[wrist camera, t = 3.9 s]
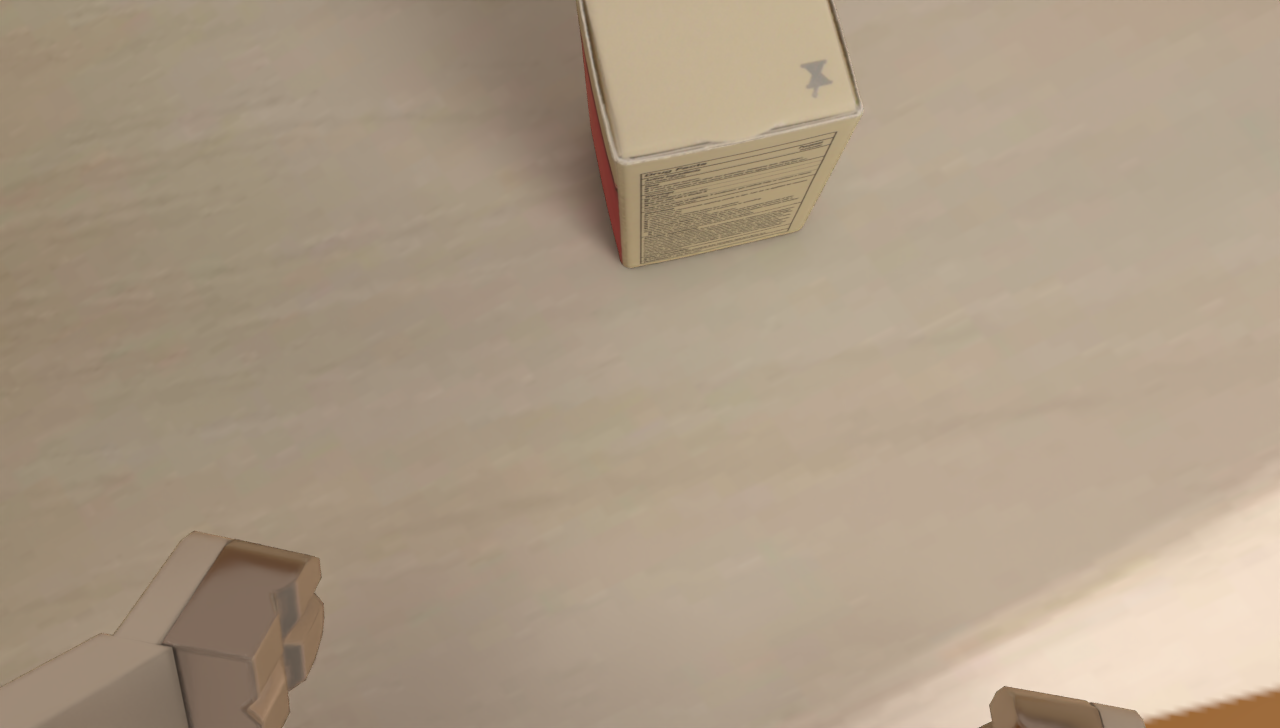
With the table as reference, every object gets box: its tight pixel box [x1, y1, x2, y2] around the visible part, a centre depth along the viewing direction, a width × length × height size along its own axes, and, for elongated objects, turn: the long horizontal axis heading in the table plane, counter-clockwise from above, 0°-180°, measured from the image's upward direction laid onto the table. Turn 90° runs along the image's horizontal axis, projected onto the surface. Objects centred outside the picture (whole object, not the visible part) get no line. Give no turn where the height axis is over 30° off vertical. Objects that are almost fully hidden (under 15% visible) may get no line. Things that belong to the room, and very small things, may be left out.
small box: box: [576, 0, 864, 268], centre depth 24 cm, size 5×4×8 cm
